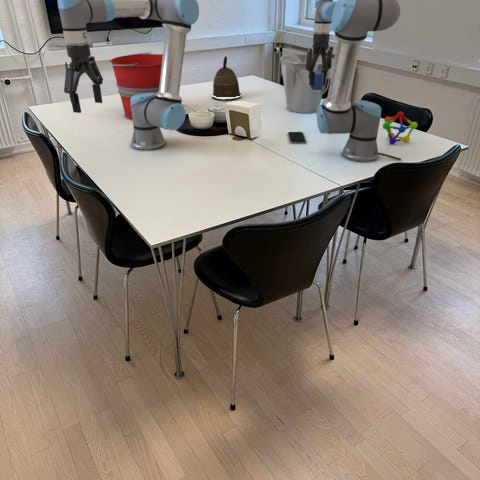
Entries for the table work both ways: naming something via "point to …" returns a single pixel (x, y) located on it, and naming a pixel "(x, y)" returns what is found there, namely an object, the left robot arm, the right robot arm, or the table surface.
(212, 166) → the table surface
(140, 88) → the bucket
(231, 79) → the bell
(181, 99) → the left robot arm
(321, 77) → the can
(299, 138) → the smartphone
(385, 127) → the educational toy
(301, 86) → the bucket
